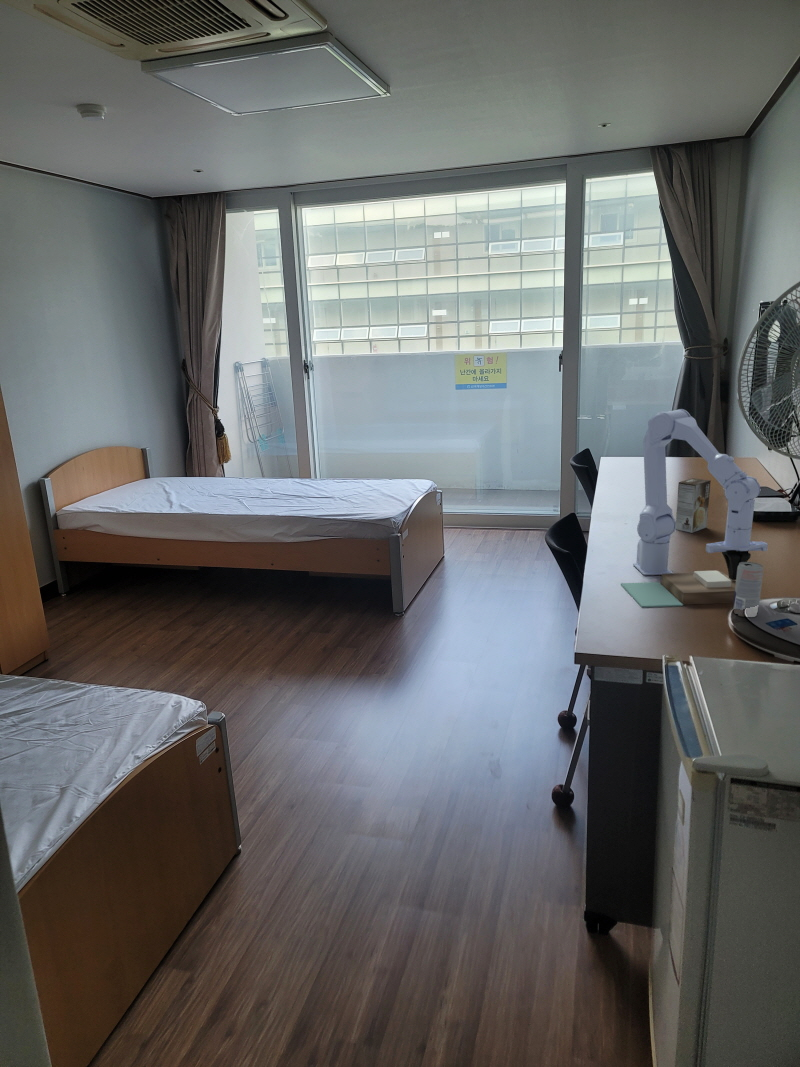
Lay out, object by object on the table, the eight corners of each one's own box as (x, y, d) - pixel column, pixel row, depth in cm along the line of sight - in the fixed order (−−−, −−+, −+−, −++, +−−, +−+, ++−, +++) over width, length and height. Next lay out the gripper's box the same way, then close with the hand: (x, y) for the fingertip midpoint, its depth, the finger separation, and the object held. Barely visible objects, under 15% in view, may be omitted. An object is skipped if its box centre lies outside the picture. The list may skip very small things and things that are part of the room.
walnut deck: (660, 584, 189) (661, 573, 188) (721, 582, 189) (722, 571, 189) (682, 604, 176) (683, 592, 175) (747, 602, 176) (748, 590, 175)
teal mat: (620, 584, 190) (620, 583, 190) (658, 583, 190) (658, 582, 190) (641, 607, 175) (641, 605, 175) (682, 606, 175) (682, 604, 175)
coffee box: (689, 524, 244) (693, 477, 239) (707, 527, 239) (711, 480, 235) (674, 529, 238) (678, 481, 234) (692, 533, 234) (696, 484, 229)
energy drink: (750, 609, 172) (756, 561, 169) (762, 617, 167) (768, 568, 163) (728, 609, 172) (733, 561, 168) (739, 618, 167) (744, 569, 163)
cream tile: (693, 576, 186) (693, 571, 185) (716, 575, 186) (716, 570, 185) (706, 587, 178) (707, 581, 178) (730, 586, 178) (731, 581, 178)
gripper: (716, 532, 174) (711, 585, 178) (776, 530, 174) (770, 583, 178) (704, 524, 181) (699, 575, 185) (761, 522, 181) (755, 573, 185)
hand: (733, 578), depth 182 cm, fingers closed
